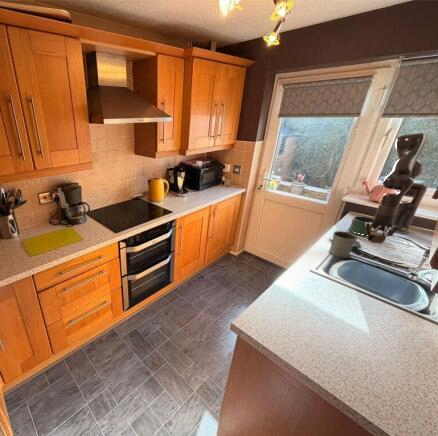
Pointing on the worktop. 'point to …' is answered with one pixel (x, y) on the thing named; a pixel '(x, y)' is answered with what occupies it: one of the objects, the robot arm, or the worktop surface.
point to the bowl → (353, 245)
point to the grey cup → (342, 244)
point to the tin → (360, 225)
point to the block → (377, 238)
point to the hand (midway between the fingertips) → (375, 240)
